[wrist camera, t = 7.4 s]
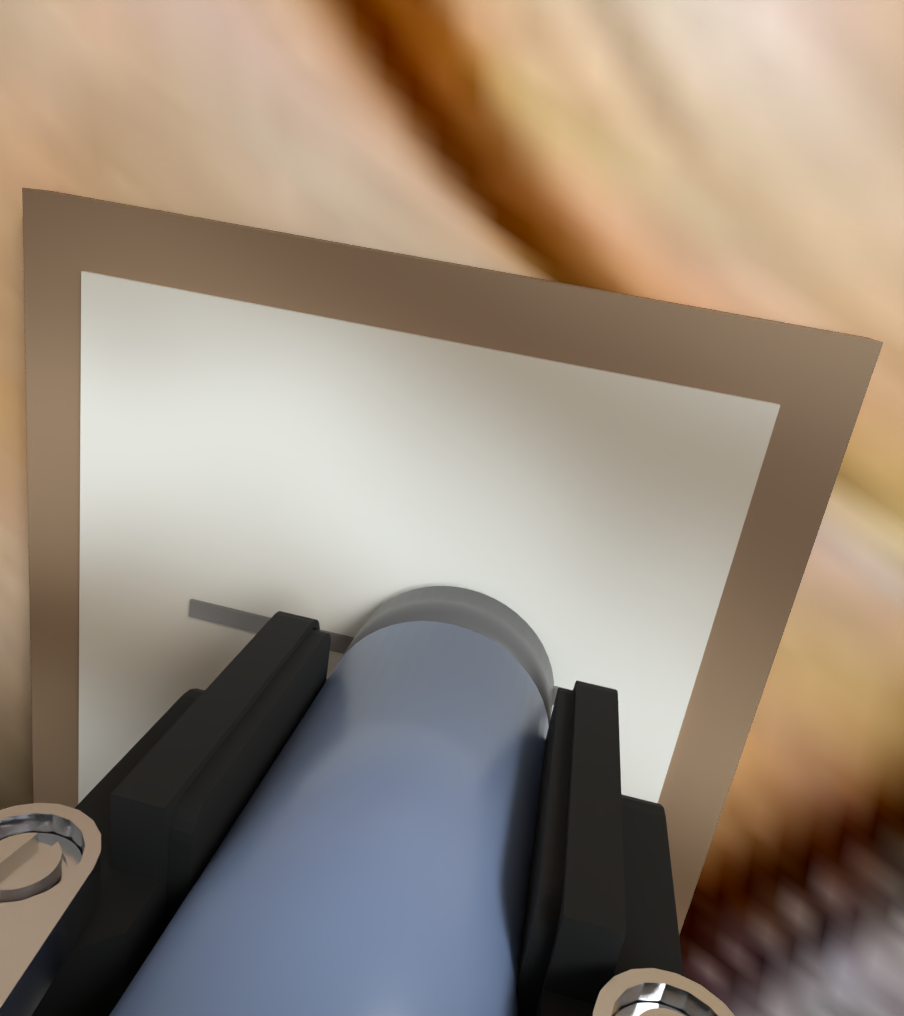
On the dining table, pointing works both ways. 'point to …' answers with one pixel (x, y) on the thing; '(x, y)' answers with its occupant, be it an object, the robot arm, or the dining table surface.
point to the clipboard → (408, 479)
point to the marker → (379, 835)
